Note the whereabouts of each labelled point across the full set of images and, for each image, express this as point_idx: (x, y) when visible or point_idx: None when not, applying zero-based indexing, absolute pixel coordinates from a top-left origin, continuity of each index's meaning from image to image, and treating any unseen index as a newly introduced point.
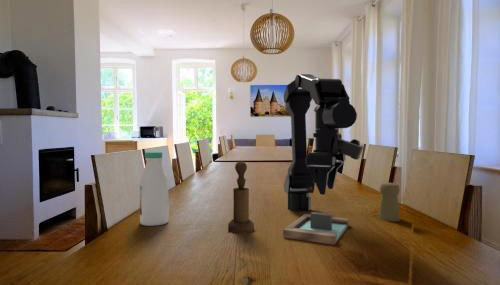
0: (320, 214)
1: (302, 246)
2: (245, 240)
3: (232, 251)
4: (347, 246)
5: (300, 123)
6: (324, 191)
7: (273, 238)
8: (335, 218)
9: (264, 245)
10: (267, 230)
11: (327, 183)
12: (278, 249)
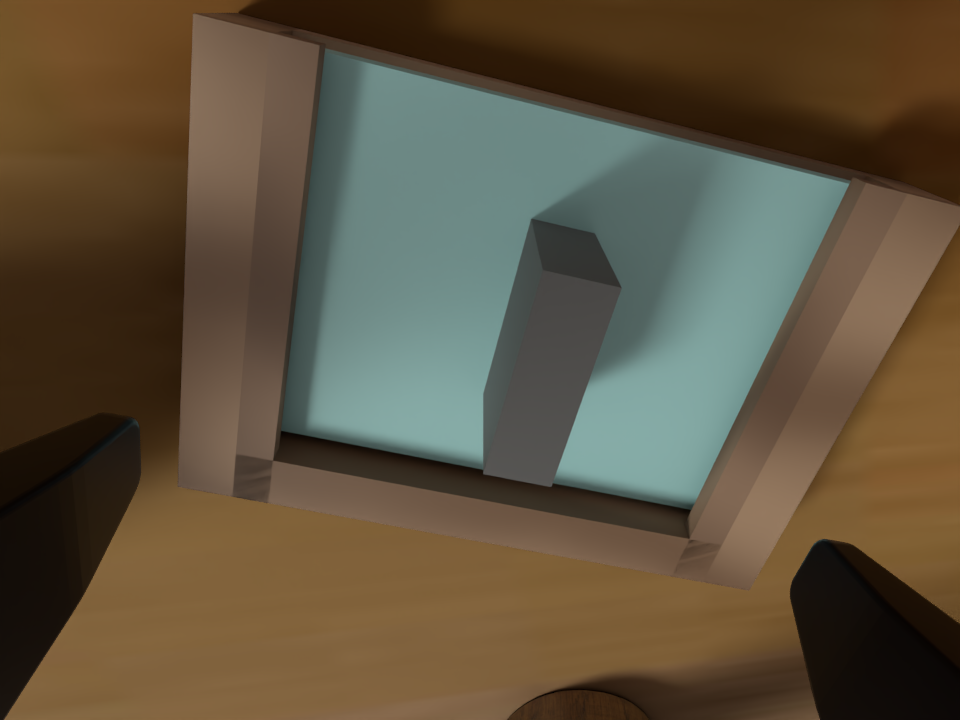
0: (582, 395)
1: None
2: (731, 698)
3: None
4: (849, 63)
5: None
6: (896, 587)
7: (677, 584)
8: (249, 189)
9: None
10: (503, 634)
11: (88, 576)
12: (900, 536)
